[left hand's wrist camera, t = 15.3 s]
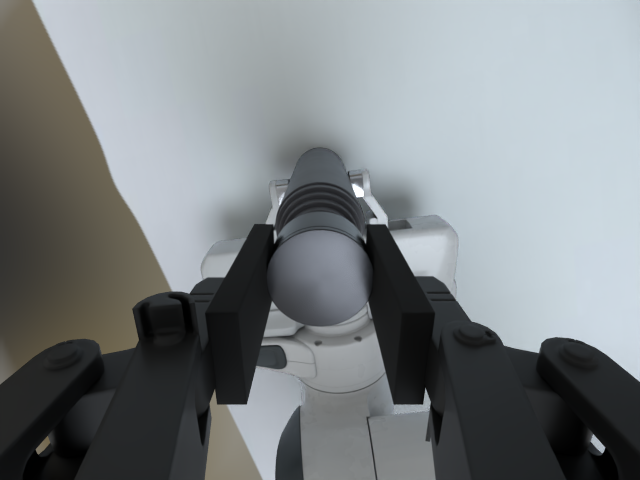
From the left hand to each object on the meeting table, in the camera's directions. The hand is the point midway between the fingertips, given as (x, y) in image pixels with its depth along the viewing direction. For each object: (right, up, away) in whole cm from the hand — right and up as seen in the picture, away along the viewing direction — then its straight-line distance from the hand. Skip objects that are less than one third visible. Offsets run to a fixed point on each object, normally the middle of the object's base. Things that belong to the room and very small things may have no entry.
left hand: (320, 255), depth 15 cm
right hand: (0, +6, +12) cm, 13 cm away
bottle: (0, +7, +18) cm, 20 cm away
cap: (0, -1, -2) cm, 2 cm away
